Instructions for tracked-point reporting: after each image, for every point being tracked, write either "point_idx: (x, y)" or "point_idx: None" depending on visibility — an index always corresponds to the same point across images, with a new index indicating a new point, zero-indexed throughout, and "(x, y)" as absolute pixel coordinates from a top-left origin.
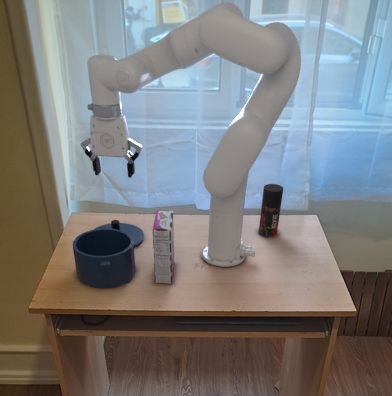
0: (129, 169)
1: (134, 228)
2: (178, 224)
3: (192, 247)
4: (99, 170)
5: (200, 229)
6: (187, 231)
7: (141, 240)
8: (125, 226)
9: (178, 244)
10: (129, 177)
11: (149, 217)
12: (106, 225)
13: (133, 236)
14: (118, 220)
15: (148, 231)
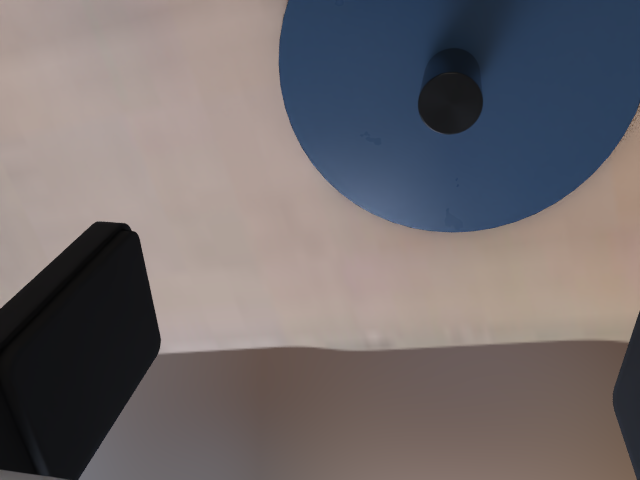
0: (24, 287)
1: (361, 178)
2: (176, 270)
3: (19, 50)
4: (637, 381)
5: (67, 236)
6: (111, 210)
7: (280, 41)
8: (420, 194)
9: (95, 69)
10: (115, 223)
11: (331, 322)
12: (543, 190)
13: (340, 79)
14: (430, 128)
15: (292, 184)
